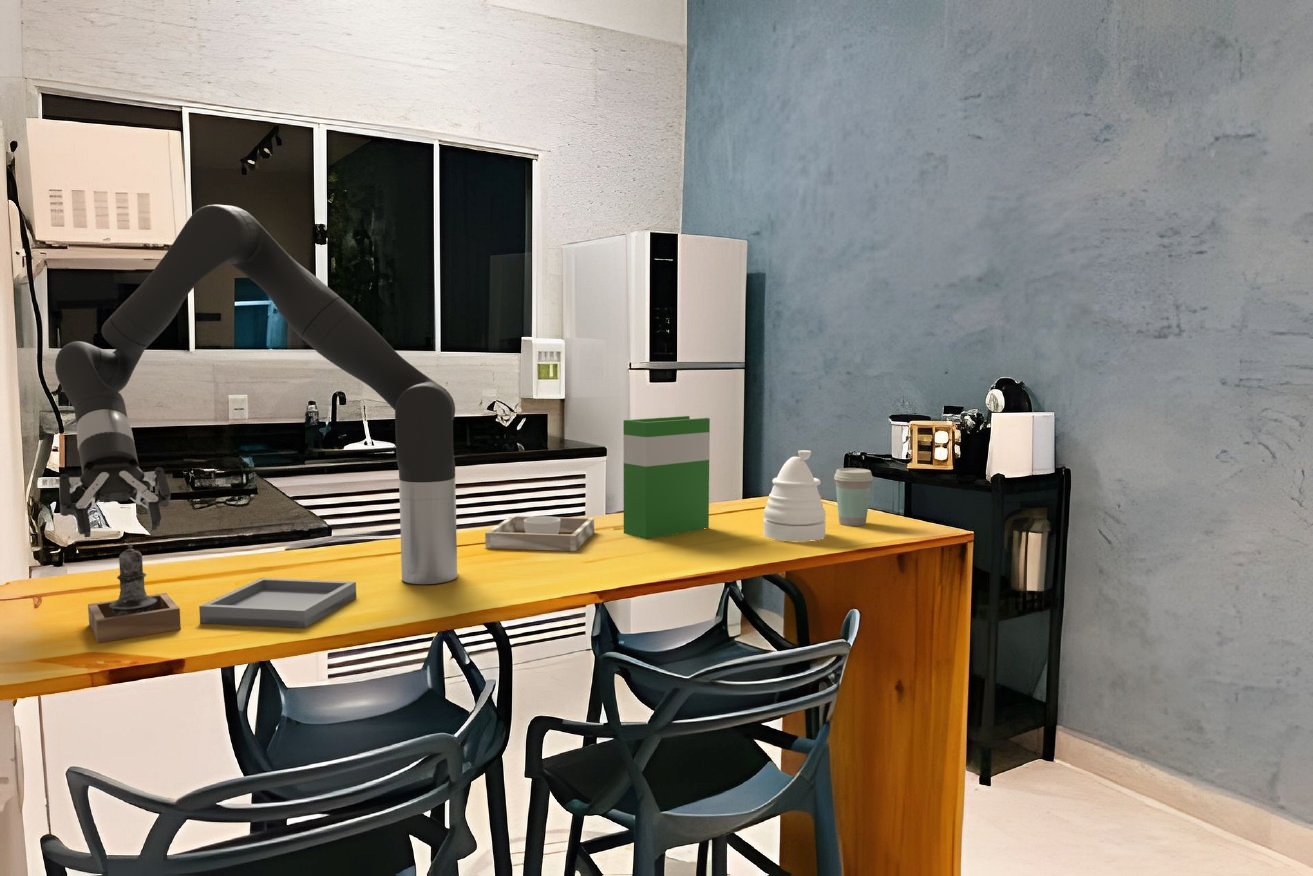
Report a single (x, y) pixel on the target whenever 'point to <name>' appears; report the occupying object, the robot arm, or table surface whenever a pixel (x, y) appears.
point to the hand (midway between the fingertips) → (121, 530)
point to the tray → (278, 603)
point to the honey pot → (795, 504)
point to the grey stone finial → (132, 586)
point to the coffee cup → (853, 495)
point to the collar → (133, 620)
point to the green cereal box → (666, 476)
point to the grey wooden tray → (539, 535)
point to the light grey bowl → (542, 525)
